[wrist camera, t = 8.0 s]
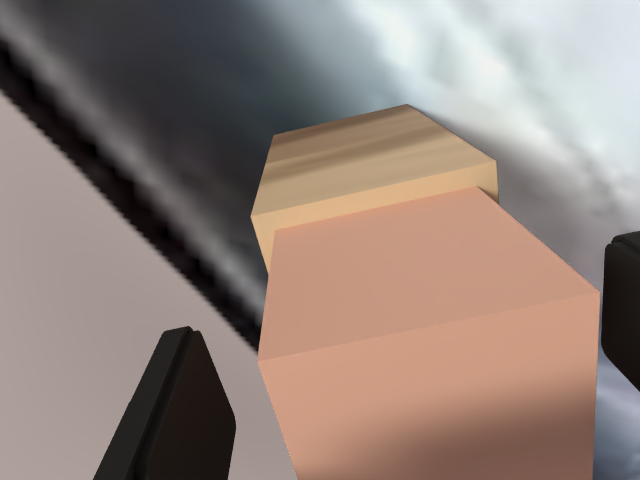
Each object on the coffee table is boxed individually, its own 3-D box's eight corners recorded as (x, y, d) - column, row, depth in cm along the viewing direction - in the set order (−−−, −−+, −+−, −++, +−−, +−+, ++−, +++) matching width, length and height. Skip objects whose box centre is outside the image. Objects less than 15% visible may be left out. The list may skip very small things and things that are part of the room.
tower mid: (265, 164, 16) (250, 216, 11) (438, 123, 15) (496, 160, 11) (305, 308, 18) (307, 399, 14) (455, 276, 18) (509, 359, 13)
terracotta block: (275, 229, 11) (256, 361, 7) (476, 185, 11) (599, 292, 6) (318, 383, 13) (327, 564, 9) (489, 349, 13) (590, 518, 8)
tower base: (273, 135, 20) (265, 163, 16) (406, 103, 20) (438, 123, 15) (304, 253, 23) (305, 308, 18) (423, 227, 22) (455, 276, 18)
